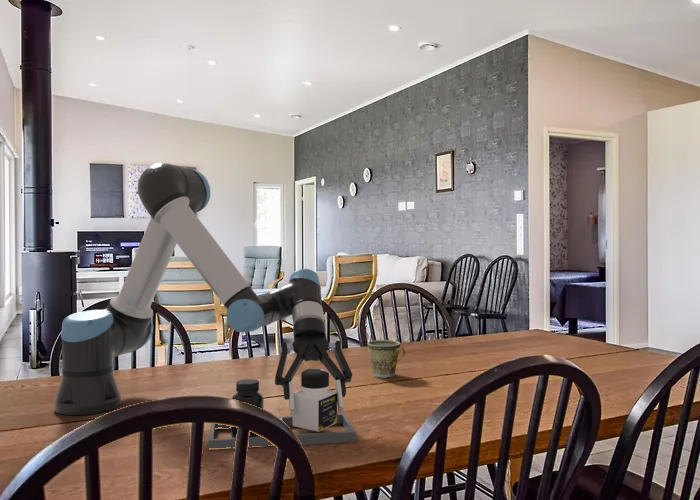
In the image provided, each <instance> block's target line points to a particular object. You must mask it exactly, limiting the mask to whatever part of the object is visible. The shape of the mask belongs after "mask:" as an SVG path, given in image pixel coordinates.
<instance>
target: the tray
mask: <svg viewBox="0 0 700 500" xmlns="http://www.w3.org/2000/svg"><path fill="white" fill-rule="evenodd" d="M346 414H347V413H345V412H344V413H343V412H342V413H337V423H336V424H342V425H343V428H344V430H345V431H332V432H331V431H330V432H314V433H311V432H310V433H309V432H308V433H299V434H298V433H296V434H295V435H296V436H297V437H298V439H299V440H300V442H301V443H302V445H301V446H304V445H320V444H321V445H322V444H337V443H339V444H340V443H354V442H355V443H356V439H357V438H356V433H357V431H355V428H354V427H353V425H352V423H351V421H350V420H349V418H348V417H347V415H346ZM277 417H278V418H280V419H281V420H282V421H284V422H285V423H286V424H287V425H288V426H287V427H294V426H293V415H288V416H277ZM218 427H222V428H229V427H230V426H226V425H218V424H211V423H210V428H209V435H208V440H207V441H208V444H207V445H208V446H207V447H208V448H226V447H231V448H233V447H235V441H236V438H232V437H227V438H226V437H225V438H215V436H214V433H215V434H216V430H215V428H218ZM268 445H270V446H271V445H272V444H271V443H270V442H268V441H267V440H266V439H264V438H262V437H260V436H258V437H249V447H252V446H268ZM272 446H273V445H272ZM249 447H248V448H247V449H250V448H249ZM274 447H276V446H274ZM208 448H207V449H208Z"/></svg>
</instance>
